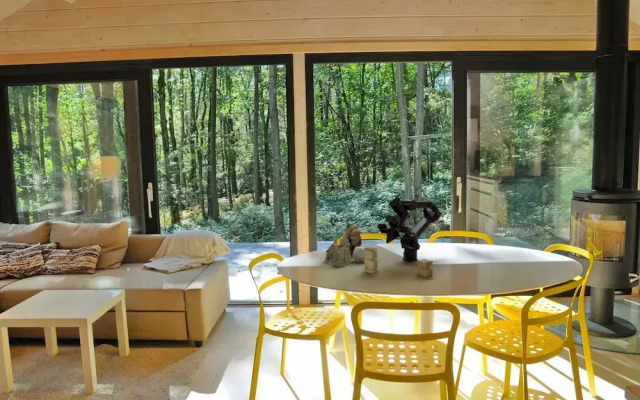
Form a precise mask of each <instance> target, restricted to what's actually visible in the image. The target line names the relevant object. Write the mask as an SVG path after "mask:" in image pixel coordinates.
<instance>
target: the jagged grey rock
mask: <svg viewBox="0 0 640 400" xmlns="http://www.w3.org/2000/svg"><path fill="white" fill-rule="evenodd" d="M349 245H350V243H349V239H347V238H346V233H345V234H344V236H342V238H339V244H338V238H337V237H334V238H333V242H332V243H331V245H330V247H328V248H327V249H326V250H325V253H326V254H325V257H324V262H325V263H327V264H328V265H329V264H330V265H329V266H332V267H346V266H349V265H351V264H352V262H353V260H352V256H350V251H349V249H350V248H349Z"/></svg>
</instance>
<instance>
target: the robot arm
mask: <svg viewBox="0 0 640 400" xmlns="http://www.w3.org/2000/svg"><path fill="white" fill-rule="evenodd" d="M388 204H389V207H390V208H391V210H392V211H393V213H394V214H395V215H391V214H390V215H389V214H388V215H387V214H386V216H385V218H384V222H385V223H384V222H383V223H382V222H379V223H378V224H377V225H376V227H377V229H378V230H379V231H380V233H382V234H385V235H386V237H385V238H386V240H385V243H386V244H390V243H392V242H393V241H395V240H396V239H398V238H400V241H399V242H400V246H401V249H403V252H402V253H403V256H402V260H404V261H406V262H409V263H410V262H417V260H419V259H418V251H419V250H420V248H421V245H420V243H419V237H420V236H421V235H422V234H423V233H424V231H426V229H427V228H428V227H429V226H430V225H431V224H433V223H436V222H437V221H439V219H440V218H441V212H440V209H439V208H438V207H437V206H436V205H435V204H434V203H433V201H432V200H426V199H425V200H414V199H401V198H400V197H399V196H396V197H395V198H393V199H391V200H390V201H389V203H388ZM417 209H422V213H423V218H422V219H421V220H420V221H419V222H418V223H417V225H415V227H414V228H413V229H412V230H411V229H410V228H409V226H406V221H407V219H410V218H411V214H410V211H416V210H417ZM386 223H387V224H388V225H387V224H386ZM402 233H403V234H402ZM401 234H402V235H401Z"/></svg>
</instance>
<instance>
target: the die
mask: <svg viewBox="0 0 640 400" xmlns="http://www.w3.org/2000/svg"><path fill="white" fill-rule="evenodd" d="M365 247H366V246H360V247H355V249H354V252H353V256H352V257H353V259H354V261H355V263H365Z"/></svg>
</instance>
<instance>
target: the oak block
mask: <svg viewBox="0 0 640 400" xmlns="http://www.w3.org/2000/svg"><path fill="white" fill-rule="evenodd" d="M416 263H417V264H416V270H417V271H416V275H417V276H420V277H424V278H426V277H431V276H433V274H434V273H433V270H434V269H433V268H434V267H433V265H434V263H433V260H431V259H427V258H424V259H423V258H422V259H418V260H417V261H416Z"/></svg>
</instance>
